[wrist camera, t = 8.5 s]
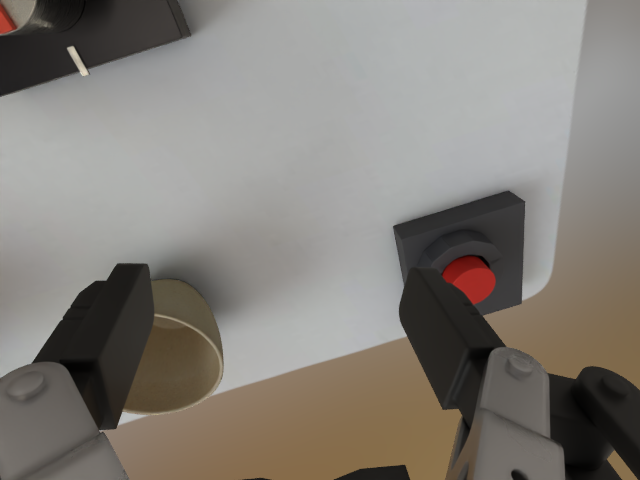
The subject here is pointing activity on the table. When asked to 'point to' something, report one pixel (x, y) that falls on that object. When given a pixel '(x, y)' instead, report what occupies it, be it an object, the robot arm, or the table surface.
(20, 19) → the timer knob
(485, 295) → the button
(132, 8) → the timer panel
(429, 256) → the button block
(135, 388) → the bowl
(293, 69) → the table surface
